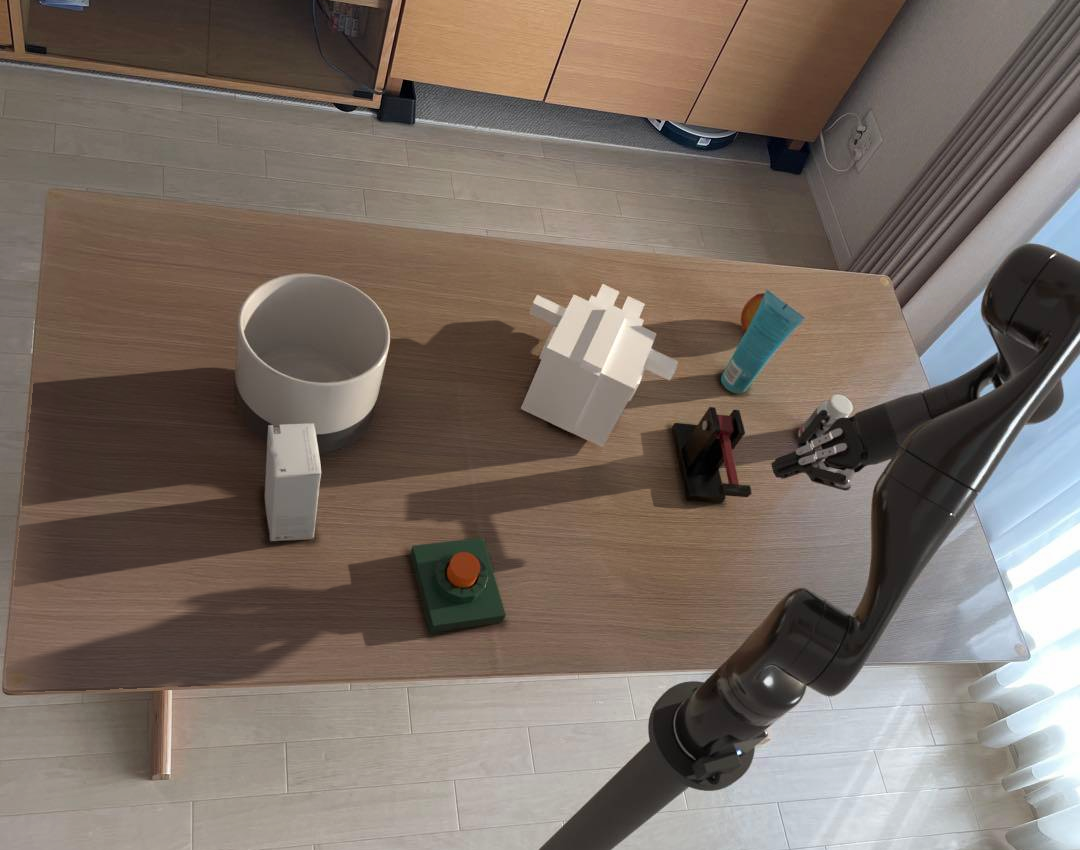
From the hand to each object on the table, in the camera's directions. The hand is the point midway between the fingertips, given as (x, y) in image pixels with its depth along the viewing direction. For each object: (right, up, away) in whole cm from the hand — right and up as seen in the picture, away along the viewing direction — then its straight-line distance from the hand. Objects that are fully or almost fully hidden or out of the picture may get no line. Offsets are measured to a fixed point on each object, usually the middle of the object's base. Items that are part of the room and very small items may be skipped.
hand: (773, 470), depth 142 cm
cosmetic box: (-67, -6, -8) cm, 68 cm away
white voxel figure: (-26, +16, +21) cm, 37 cm away
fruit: (+5, +26, +38) cm, 47 cm away
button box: (-44, -16, -7) cm, 48 cm away
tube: (0, +16, +30) cm, 34 cm away
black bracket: (-8, +2, +17) cm, 19 cm away
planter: (-67, +8, +2) cm, 68 cm away
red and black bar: (-6, +2, +8) cm, 10 cm away
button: (-43, -14, -10) cm, 47 cm away
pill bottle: (+13, +6, +28) cm, 31 cm away
